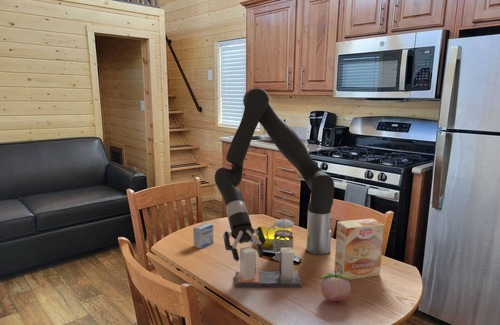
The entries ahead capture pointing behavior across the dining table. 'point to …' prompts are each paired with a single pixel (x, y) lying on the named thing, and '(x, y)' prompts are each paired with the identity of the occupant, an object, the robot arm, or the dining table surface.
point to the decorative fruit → (335, 286)
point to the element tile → (271, 235)
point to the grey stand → (274, 274)
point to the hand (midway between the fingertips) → (249, 258)
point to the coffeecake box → (359, 248)
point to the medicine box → (203, 235)
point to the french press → (282, 235)
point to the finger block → (247, 263)
